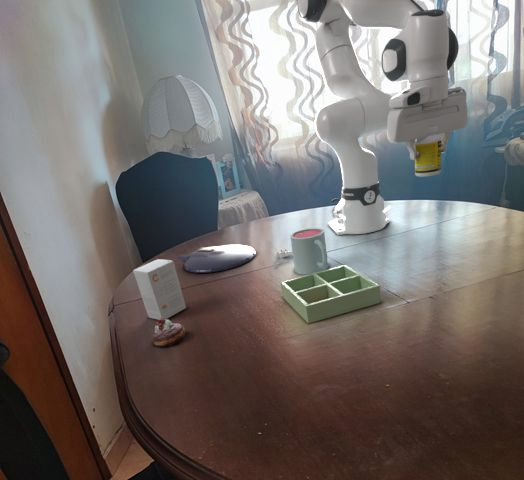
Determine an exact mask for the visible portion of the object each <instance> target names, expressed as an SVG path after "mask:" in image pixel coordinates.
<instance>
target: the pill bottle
mask: <svg viewBox="0 0 524 480" xmlns="http://www.w3.org/2000/svg"><path fill="white" fill-rule="evenodd" d="M437 131H438V126H434V127H430V128H428V134H429V136H427V137H424V138H419V139H415V145H414V148H415V150H416V151H419V159H415V160H414V175H415V176H416V177H418V178H425V177H433V176H437V175H439V174H441V172H442V153H441V139H442V137H440V134H436V132H437Z"/></svg>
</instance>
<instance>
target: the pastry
mask: <svg viewBox="0 0 524 480" xmlns="http://www.w3.org/2000/svg"><path fill="white" fill-rule="evenodd" d="M185 335H186V330H185V326H183V325H182V324H180V323H172V321H171V320H170V319H165V318H164V317H162V318H161V319H160V320H157V322H156V323H155V326H154V334H153V335H152V341H153V345H154V346H156V347H170V346H173V345H175V344H177V343H179V342H180V341H182V340H183V338H184V336H185Z"/></svg>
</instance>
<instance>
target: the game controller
mask: <svg viewBox="0 0 524 480" xmlns="http://www.w3.org/2000/svg"><path fill="white" fill-rule="evenodd" d="M284 257H286V258H287V257H293V253H292V250H289V249H287V248H284V251H283V249H280V251H276V252H275V258H279V260H281V259H282V258H284ZM280 262H281V261H279V262H278V263H276V265H275V266H277V265H278V264H280Z"/></svg>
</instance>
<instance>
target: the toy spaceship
mask: <svg viewBox="0 0 524 480" xmlns="http://www.w3.org/2000/svg"><path fill="white" fill-rule="evenodd" d="M256 255H257V251H256V249H255V248H253V247H252V246H249V245H245V244H224V245H219V246H218V245H217V246H208V247H204V246H203V247H198V248H197V250H195V251H193V252H191V253H189V254H185V255H184V254H183V255H178V256H177V259H178V260H181V261H184V264H183V269H184V270H185V271H187V272H188V273H189V272H190V273H197V274H208V273H215V272H221V271H226V270H229V269H233V268H237V267H240V266H242V265H244V264H246V263H248V262H250V261H251V260H253V259H254V257H255V256H256Z"/></svg>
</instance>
